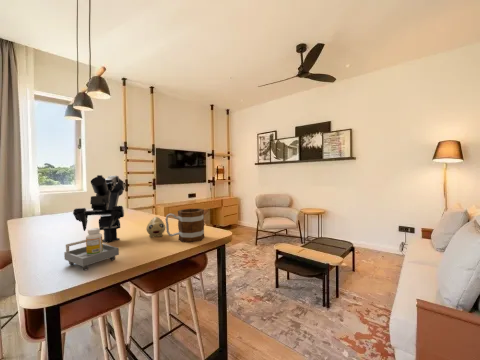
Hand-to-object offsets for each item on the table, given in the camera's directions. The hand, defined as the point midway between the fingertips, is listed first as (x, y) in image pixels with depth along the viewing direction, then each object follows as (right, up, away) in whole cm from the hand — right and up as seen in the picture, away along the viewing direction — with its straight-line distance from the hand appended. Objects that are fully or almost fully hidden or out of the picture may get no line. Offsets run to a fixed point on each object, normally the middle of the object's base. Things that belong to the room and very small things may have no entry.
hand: (96, 229), depth 96 cm
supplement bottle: (+3, -8, -6) cm, 11 cm away
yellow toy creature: (+15, -11, +29) cm, 34 cm away
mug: (+32, -10, +23) cm, 41 cm away
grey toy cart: (+3, -12, -7) cm, 14 cm away
